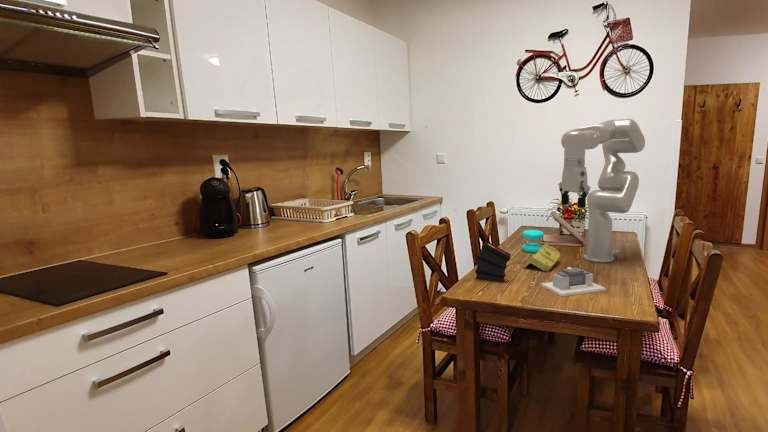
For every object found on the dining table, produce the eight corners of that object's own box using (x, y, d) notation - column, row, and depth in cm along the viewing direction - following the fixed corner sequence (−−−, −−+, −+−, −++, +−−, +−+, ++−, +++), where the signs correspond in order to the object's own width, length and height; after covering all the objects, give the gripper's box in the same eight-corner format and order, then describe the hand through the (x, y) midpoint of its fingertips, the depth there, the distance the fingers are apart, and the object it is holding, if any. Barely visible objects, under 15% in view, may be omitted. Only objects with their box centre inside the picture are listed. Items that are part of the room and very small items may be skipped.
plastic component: (550, 267, 171) (528, 254, 176) (542, 281, 175) (521, 268, 179) (563, 253, 187) (542, 242, 191) (555, 266, 190) (535, 254, 194)
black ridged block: (470, 271, 171) (486, 240, 166) (499, 288, 167) (516, 257, 162) (467, 274, 168) (483, 243, 163) (497, 291, 164) (514, 259, 159)
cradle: (582, 280, 160) (582, 267, 159) (605, 290, 149) (606, 276, 148) (541, 285, 156) (541, 272, 155) (561, 296, 145) (562, 281, 144)
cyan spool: (546, 230, 207) (541, 234, 199) (545, 249, 209) (540, 254, 200) (525, 228, 213) (520, 232, 204) (525, 247, 214) (520, 252, 206)
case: (584, 247, 211) (585, 216, 209) (540, 245, 219) (541, 215, 216) (580, 239, 230) (582, 210, 228) (540, 237, 238) (541, 209, 235)
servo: (581, 282, 155) (582, 264, 154) (589, 285, 151) (590, 267, 150) (555, 285, 153) (556, 267, 152) (562, 289, 149) (563, 270, 148)
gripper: (598, 163, 156) (596, 208, 159) (567, 162, 173) (566, 202, 176) (581, 164, 154) (579, 209, 157) (552, 163, 171) (551, 204, 174)
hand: (573, 205), depth 167 cm, fingers open, 9 cm apart
